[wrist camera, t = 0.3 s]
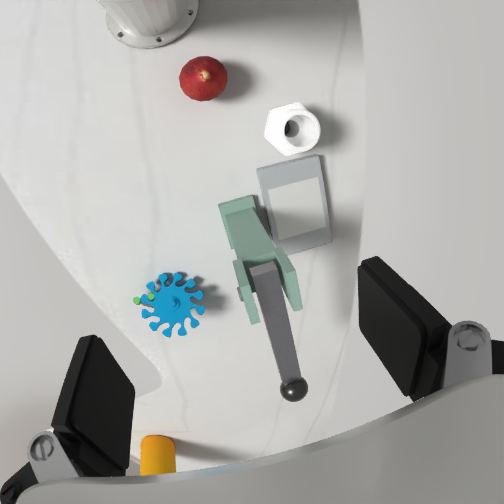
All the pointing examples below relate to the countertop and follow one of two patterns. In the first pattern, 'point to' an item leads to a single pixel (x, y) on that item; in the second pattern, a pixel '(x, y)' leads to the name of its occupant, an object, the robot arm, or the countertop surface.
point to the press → (278, 225)
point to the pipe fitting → (292, 129)
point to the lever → (279, 330)
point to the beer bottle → (157, 455)
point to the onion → (203, 78)
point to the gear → (170, 304)
